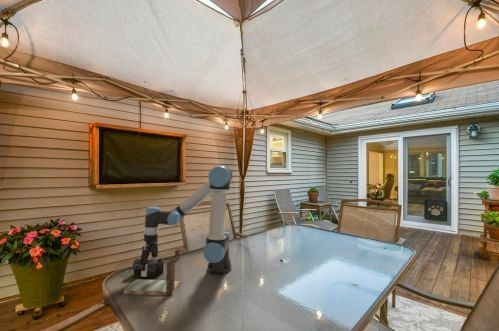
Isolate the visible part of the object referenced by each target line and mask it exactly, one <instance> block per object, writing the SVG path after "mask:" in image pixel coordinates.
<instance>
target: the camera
mask: <svg viewBox="0 0 499 331" xmlns="http://www.w3.org/2000/svg"><path fill="white" fill-rule="evenodd" d="M140 260H141V258H136V259H134V260H133V263H132V264H131V266H132V268H133V276H140V277H142V279H145V280H152V278H154V276H157V275H163V274H164V272H165V271H164V264H165V262H164V259H162V258H161V257H160V258H156V260H155V259H154V260H151V259H148V260H147V275H146V277H145V276H141V270H142V265H140Z"/></svg>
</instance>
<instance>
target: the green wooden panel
mask: <svg viewBox="0 0 499 331" xmlns="http://www.w3.org/2000/svg"><path fill="white" fill-rule="evenodd" d="M180 258H181V250H180V249H175V250H174V256H173V257H172V258H171V259H169V260H168V261H167V262H166V280H165V279H144V278H142V279H141V278H140V279H137V278H136V279H135V280H133V282H132V283H130V284H129V285H128V286H127V287H125V288H124V289H123V294H125V295H144V296H145V295H146V296H168V297H169V296H170V297H171V296H172V297H173V296H174V295H175V294H176V292H177V291H178V290H179V288H180V287H181V286H182V281H181V280H175V278H176V277H175V276H176V274H175V273H176V263H177V262H178V261H179V260H180Z"/></svg>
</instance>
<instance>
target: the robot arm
mask: <svg viewBox="0 0 499 331" xmlns="http://www.w3.org/2000/svg"><path fill="white" fill-rule="evenodd" d="M207 179H208V181H207V182H205V183H204V184H202V186H200V188H198V189H197V190H195V192H193V193H192V194H191V195H189V196H188V197H187V198H186V199H185V200H184V201H182V202H181V203H180V204H179V205H177V206H176V207H175V208H173V209H171V210H167V211H165V210H161V208H160V207H159V206H148V207H147V208H146V209H145V215H144V216H145V219H144V220H145V221H144V232H143V233H144V235H143V241H144V242H145V245H142V250H141V255H140V256H141V257H140V265H142V270H141V276H140V277H143V276H145V277H146V275H147V260H149V257H150V254H151V257H150V260H154V259H155V260H156V259H157V258H158V256H159V248H158V246H159V245H158V239H159V225H166V226H167V225H168V226H177V225H179V223H180V222H181V219H183V218H184V217H185V216H186V215H187V214H188V213H190V212H191V211H192V210H194V209H195V208H196V207H198V205H199V204H201V203H202V202H203V201H205V200H206V199H207V198H209V197H210V195H211V199H210V213H209V227H208V228H209V230H208V231H209V232H208V234H207V235H205V246H204V248H203V251H202V252H203V257H204V259H205V260H206V261H207V266H206V267H207V268H206V269H207V272H208V273H211V274H216V275H221V274H227V273H230V271H232V263H231V258H230V233H229V232H228V231H225V226H226V209H227V208H226V207H227V194H228V192H229V191H230V190H231V189H230V188H231V185H230V184H231V181H232V179H233V172H232V170H231V169H230V168H229V167H227V166H224V165H217V166H214V167H212V168H211V169H210V170H209V173H208V176H207Z"/></svg>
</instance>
